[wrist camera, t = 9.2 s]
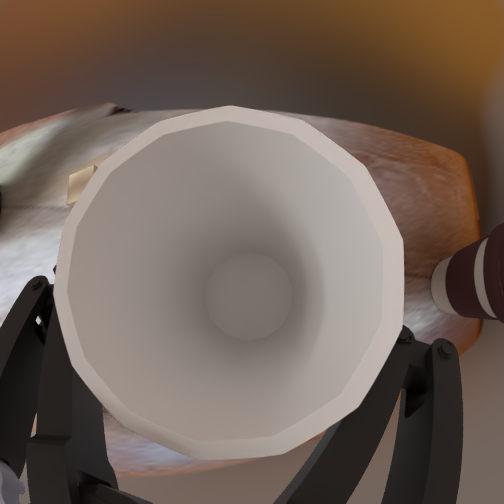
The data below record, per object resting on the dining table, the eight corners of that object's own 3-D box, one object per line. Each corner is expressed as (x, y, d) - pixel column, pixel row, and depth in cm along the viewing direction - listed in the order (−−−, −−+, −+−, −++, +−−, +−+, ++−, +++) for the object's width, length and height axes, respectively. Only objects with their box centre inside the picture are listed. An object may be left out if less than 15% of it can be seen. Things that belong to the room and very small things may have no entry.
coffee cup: (470, 249, 29) (543, 220, 15) (473, 319, 27) (551, 316, 13) (418, 248, 30) (496, 210, 15) (421, 327, 28) (505, 331, 13)
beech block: (86, 187, 35) (69, 175, 30) (109, 178, 35) (94, 164, 30) (85, 214, 34) (66, 204, 29) (109, 206, 34) (92, 194, 29)
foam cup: (335, 333, 18) (446, 370, 5) (212, 380, 18) (126, 478, 5) (284, 211, 20) (302, 75, 7) (167, 258, 20) (43, 188, 7)
